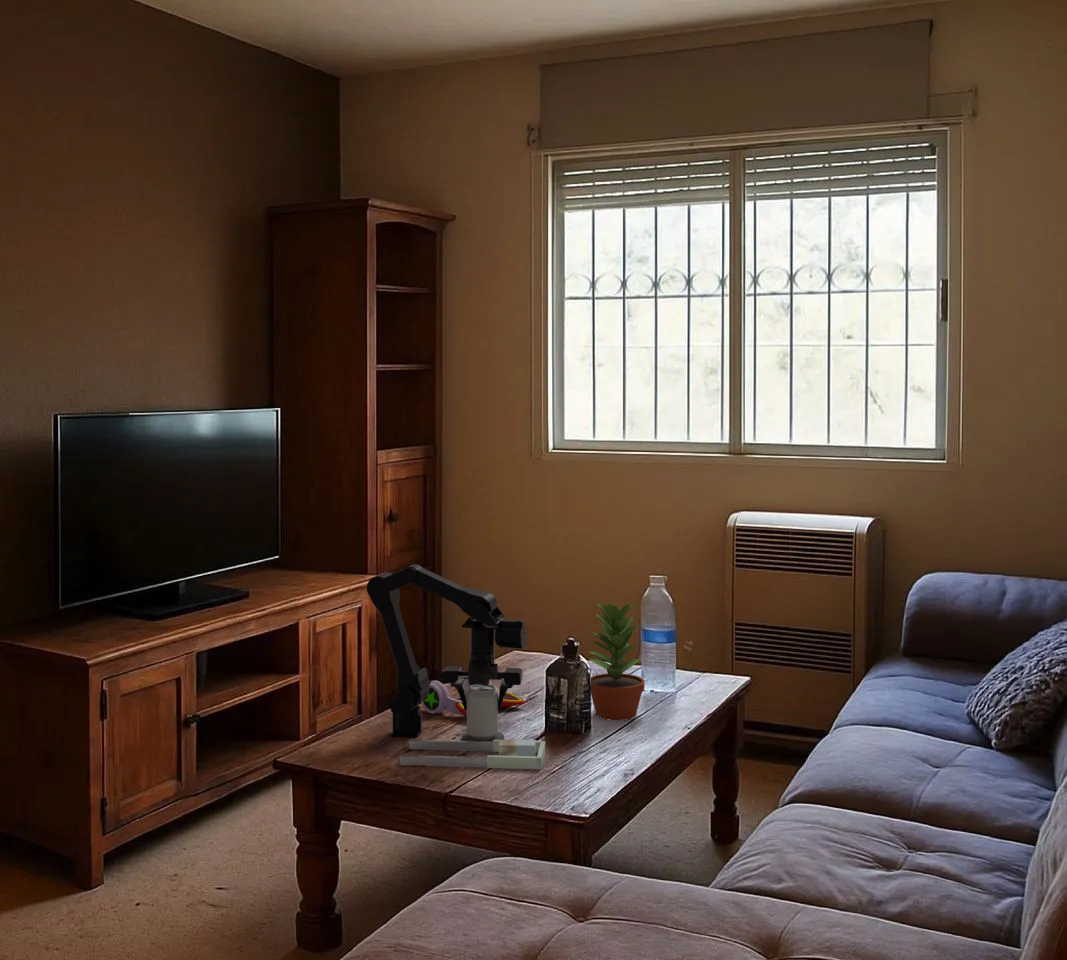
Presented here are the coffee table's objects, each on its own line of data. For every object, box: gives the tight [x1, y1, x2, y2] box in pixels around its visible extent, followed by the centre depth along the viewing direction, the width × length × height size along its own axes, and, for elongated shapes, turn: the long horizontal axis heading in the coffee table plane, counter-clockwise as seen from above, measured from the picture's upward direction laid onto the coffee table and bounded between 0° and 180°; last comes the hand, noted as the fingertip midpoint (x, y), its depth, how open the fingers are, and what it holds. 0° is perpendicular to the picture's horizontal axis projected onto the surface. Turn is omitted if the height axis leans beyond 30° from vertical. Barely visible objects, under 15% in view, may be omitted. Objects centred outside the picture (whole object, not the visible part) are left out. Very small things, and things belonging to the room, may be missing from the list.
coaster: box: [461, 731, 505, 742], centre depth 281 cm, size 10×10×1 cm
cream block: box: [498, 739, 519, 756], centre depth 267 cm, size 4×4×4 cm
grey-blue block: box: [517, 739, 536, 757], centre depth 267 cm, size 4×4×4 cm
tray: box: [486, 740, 546, 770], centre depth 267 cm, size 12×12×2 cm
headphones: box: [421, 679, 526, 717], centre depth 305 cm, size 20×10×20 cm
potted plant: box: [587, 601, 645, 721], centre depth 300 cm, size 15×15×30 cm
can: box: [466, 684, 499, 739], centre depth 281 cm, size 8×8×12 cm
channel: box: [399, 739, 493, 769], centre depth 268 cm, size 20×12×2 cm, turn 85°
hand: (482, 711), depth 281 cm, fingers closed on can, 7 cm apart
